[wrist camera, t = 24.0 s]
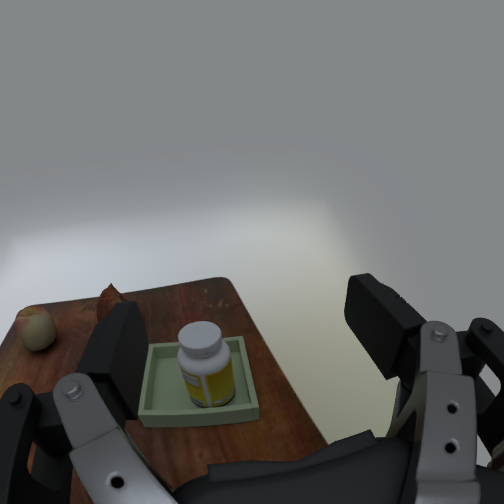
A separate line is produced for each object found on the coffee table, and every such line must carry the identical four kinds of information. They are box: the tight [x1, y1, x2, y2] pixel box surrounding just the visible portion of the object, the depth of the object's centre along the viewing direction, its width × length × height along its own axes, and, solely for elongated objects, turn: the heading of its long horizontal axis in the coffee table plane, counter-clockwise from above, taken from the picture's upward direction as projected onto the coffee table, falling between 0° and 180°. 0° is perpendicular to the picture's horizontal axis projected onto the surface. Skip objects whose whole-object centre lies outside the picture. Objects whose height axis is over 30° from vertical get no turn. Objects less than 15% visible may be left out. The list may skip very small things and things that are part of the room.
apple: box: [15, 306, 56, 351], centre depth 37 cm, size 9×9×8 cm
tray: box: [138, 336, 260, 427], centre depth 34 cm, size 15×14×3 cm
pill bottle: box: [177, 321, 236, 409], centre depth 30 cm, size 6×6×11 cm
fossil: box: [97, 283, 129, 322], centre depth 47 cm, size 13×8×10 cm
